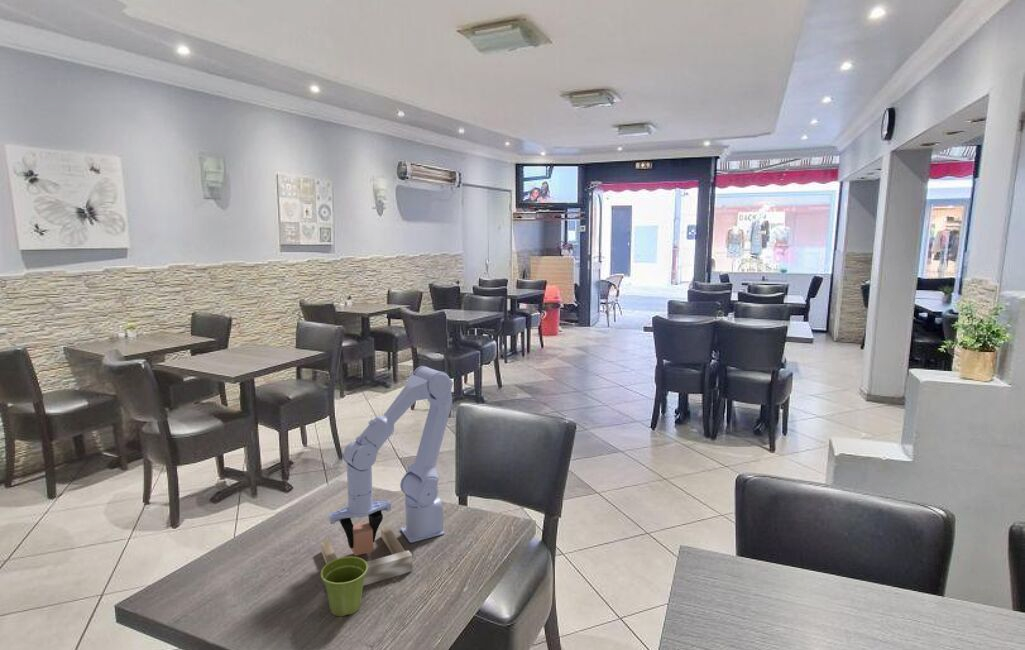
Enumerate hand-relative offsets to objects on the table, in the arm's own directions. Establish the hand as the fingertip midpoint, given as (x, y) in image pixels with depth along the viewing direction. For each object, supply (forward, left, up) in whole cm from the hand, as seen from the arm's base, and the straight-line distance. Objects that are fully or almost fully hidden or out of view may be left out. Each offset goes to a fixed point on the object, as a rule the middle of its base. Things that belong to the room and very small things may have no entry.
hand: (361, 543), depth 132 cm
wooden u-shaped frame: (0, +3, -3) cm, 4 cm away
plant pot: (+8, +18, -3) cm, 20 cm away
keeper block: (0, 0, -1) cm, 1 cm away
